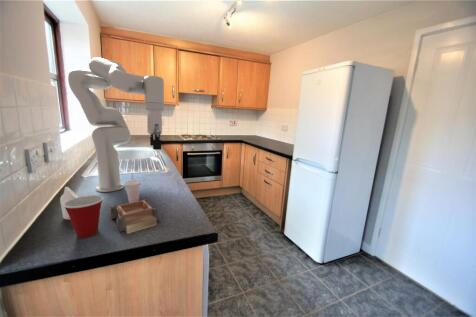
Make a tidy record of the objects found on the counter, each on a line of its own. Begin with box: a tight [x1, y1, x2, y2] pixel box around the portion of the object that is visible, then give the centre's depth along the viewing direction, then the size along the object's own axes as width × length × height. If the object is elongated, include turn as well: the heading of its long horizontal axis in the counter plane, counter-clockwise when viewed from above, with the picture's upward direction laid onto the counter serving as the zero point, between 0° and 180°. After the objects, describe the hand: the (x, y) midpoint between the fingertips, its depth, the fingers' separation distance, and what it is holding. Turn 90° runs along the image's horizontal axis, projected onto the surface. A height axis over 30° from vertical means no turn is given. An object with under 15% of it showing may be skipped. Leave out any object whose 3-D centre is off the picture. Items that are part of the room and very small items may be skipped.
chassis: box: [109, 198, 161, 235], centre depth 82 cm, size 18×14×5 cm
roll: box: [59, 186, 79, 220], centre depth 82 cm, size 6×12×6 cm
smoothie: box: [124, 172, 141, 203], centre depth 95 cm, size 6×6×14 cm
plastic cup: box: [63, 194, 104, 239], centre depth 71 cm, size 11×11×12 cm
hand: (155, 147), depth 95 cm, fingers open, 9 cm apart
